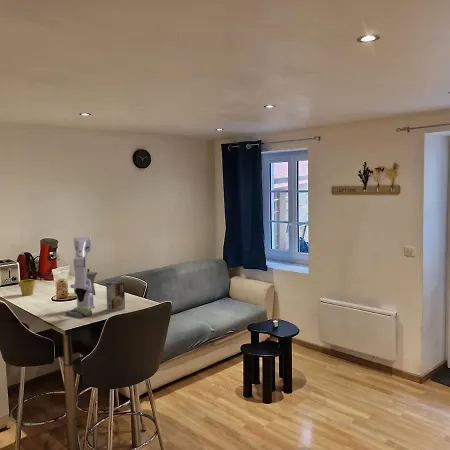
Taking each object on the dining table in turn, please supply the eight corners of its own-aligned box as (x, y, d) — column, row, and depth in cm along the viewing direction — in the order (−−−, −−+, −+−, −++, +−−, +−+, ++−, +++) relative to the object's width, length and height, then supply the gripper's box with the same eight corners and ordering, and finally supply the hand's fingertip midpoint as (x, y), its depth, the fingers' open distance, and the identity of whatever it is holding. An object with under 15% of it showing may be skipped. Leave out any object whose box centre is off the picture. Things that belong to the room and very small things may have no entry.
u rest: (77, 311, 257) (77, 308, 257) (92, 314, 251) (91, 311, 251) (66, 315, 250) (66, 311, 250) (81, 317, 244) (81, 314, 244)
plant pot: (24, 297, 295) (23, 283, 294) (16, 295, 301) (15, 281, 301) (38, 294, 303) (38, 280, 303) (30, 292, 310) (30, 278, 309)
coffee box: (120, 306, 269) (119, 280, 268) (125, 308, 264) (124, 282, 263) (106, 309, 263) (105, 282, 262) (111, 311, 258) (110, 284, 257)
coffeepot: (95, 292, 310) (94, 267, 308) (100, 294, 302) (100, 268, 301) (73, 295, 300) (73, 269, 299) (79, 297, 293) (78, 271, 291)
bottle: (91, 314, 249) (79, 312, 254) (91, 307, 249) (79, 305, 254) (85, 316, 245) (73, 313, 250) (85, 308, 245) (73, 306, 250)
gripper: (65, 278, 249) (66, 301, 250) (83, 280, 241) (84, 304, 242) (75, 276, 255) (76, 298, 256) (93, 278, 248) (94, 301, 249)
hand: (81, 301), depth 250 cm, fingers closed
